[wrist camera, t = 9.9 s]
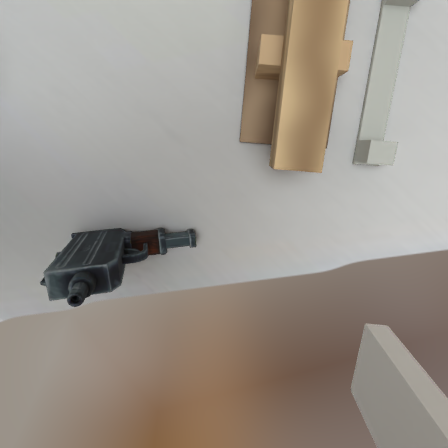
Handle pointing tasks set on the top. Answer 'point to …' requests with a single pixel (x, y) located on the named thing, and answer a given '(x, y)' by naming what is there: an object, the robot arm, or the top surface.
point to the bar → (307, 83)
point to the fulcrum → (270, 69)
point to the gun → (104, 260)
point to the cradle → (382, 85)
